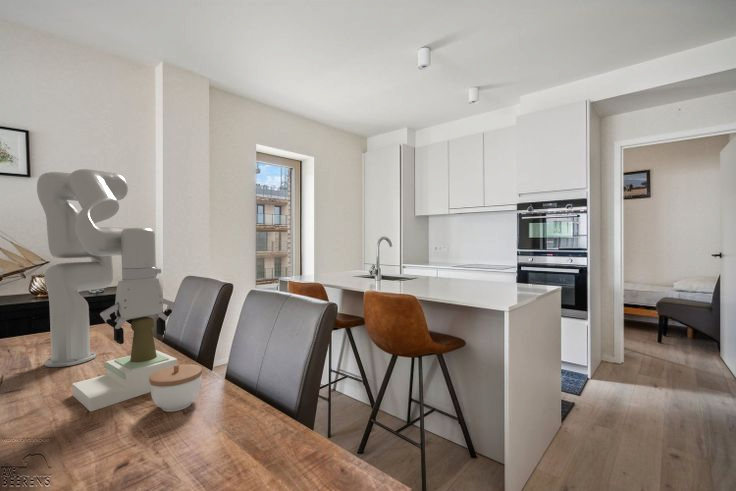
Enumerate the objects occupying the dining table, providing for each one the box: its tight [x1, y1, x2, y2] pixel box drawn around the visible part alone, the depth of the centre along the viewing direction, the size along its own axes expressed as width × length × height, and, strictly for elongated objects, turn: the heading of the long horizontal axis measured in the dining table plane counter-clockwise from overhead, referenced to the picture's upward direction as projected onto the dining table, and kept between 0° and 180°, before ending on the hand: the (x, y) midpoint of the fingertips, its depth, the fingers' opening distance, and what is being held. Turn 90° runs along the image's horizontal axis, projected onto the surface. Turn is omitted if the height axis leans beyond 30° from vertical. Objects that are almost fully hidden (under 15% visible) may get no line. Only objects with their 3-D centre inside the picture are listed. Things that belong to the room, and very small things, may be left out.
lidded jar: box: [149, 363, 203, 413], centre depth 81 cm, size 11×11×9 cm
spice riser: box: [71, 349, 179, 412], centre depth 90 cm, size 14×19×7 cm
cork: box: [130, 316, 157, 362], centre depth 93 cm, size 6×6×11 cm
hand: (141, 338), depth 93 cm, fingers open, 9 cm apart
